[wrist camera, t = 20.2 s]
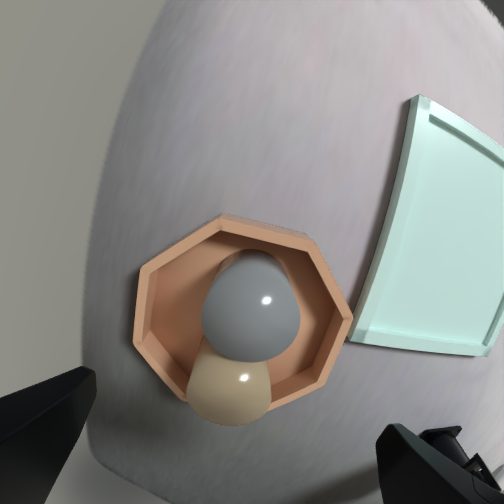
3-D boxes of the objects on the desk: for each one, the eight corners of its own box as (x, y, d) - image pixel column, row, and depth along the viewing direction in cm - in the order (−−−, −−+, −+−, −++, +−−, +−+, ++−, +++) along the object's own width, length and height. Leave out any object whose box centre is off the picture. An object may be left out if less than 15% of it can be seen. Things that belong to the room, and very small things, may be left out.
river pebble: (274, 329, 19) (281, 374, 14) (257, 382, 20) (259, 431, 15) (205, 314, 19) (192, 356, 14) (195, 369, 20) (182, 416, 15)
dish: (360, 248, 18) (375, 258, 16) (300, 401, 21) (304, 422, 19) (164, 199, 18) (151, 202, 15) (141, 366, 20) (130, 385, 18)
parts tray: (533, 180, 17) (542, 181, 16) (480, 350, 21) (487, 356, 20) (410, 98, 16) (419, 94, 15) (345, 332, 20) (350, 341, 19)
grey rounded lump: (297, 258, 18) (313, 287, 13) (276, 325, 19) (284, 369, 14) (222, 240, 18) (211, 263, 13) (207, 309, 19) (193, 350, 14)
